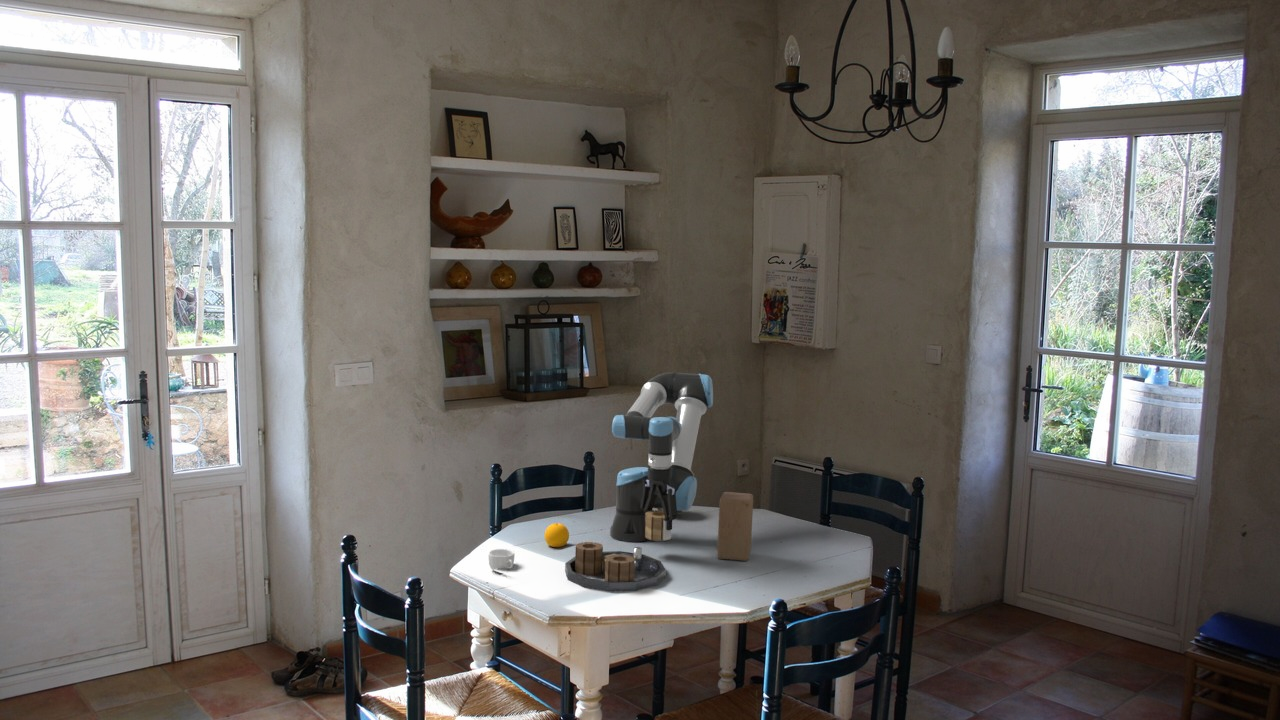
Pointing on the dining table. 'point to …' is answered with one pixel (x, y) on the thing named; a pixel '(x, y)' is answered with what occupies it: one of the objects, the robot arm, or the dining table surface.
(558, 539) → the orange
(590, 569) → the seated gear
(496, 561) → the teacup
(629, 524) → the robot arm
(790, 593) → the dining table surface
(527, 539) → the dining table surface
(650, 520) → the planet gear
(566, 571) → the carrier
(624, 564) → the seated gear
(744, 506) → the wooden block
